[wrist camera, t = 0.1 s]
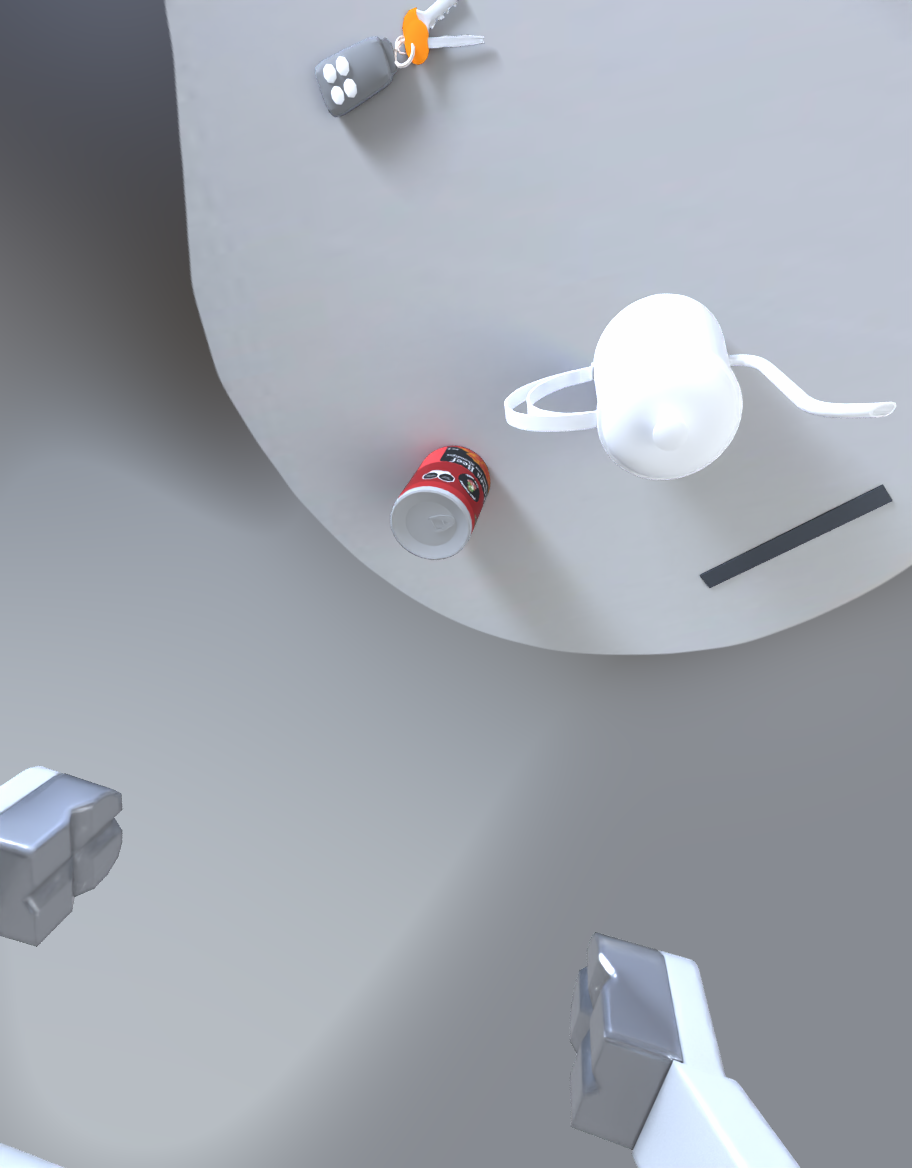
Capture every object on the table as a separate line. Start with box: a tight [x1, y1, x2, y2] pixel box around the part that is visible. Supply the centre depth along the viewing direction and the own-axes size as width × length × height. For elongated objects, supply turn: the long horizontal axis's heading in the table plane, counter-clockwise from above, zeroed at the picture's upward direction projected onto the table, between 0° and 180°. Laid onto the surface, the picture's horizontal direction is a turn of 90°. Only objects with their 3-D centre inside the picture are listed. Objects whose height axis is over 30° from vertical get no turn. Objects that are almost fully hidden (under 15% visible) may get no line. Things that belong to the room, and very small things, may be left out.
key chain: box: [315, 0, 484, 117], centre depth 43 cm, size 13×4×2 cm, turn 110°
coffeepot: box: [504, 294, 896, 480], centre depth 44 cm, size 11×25×19 cm, turn 99°
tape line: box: [700, 485, 892, 588], centre depth 58 cm, size 18×2×1 cm, turn 133°
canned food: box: [390, 446, 490, 560], centre depth 58 cm, size 8×8×11 cm
